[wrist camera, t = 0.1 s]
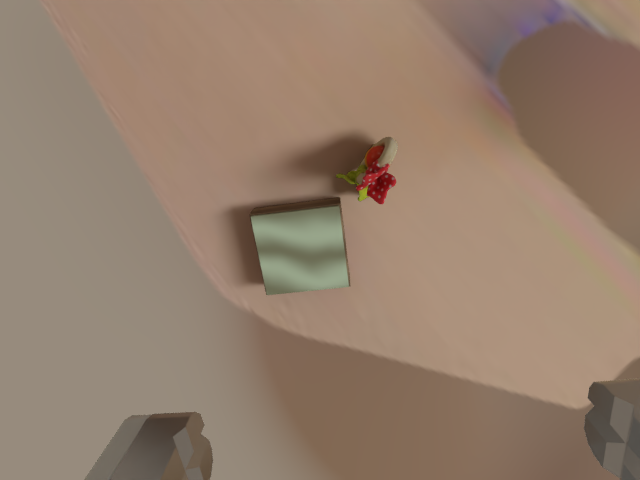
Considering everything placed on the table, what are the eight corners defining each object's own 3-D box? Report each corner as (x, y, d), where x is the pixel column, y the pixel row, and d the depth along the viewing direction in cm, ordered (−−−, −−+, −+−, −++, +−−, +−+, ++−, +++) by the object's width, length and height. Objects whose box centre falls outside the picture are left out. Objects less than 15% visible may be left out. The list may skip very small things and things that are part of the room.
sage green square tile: (254, 208, 56) (248, 215, 53) (340, 197, 55) (340, 204, 51) (270, 284, 61) (265, 296, 57) (349, 276, 60) (350, 287, 56)
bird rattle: (356, 136, 54) (326, 189, 53) (381, 109, 43) (344, 176, 42) (392, 158, 55) (363, 211, 54) (425, 137, 44) (390, 204, 43)
